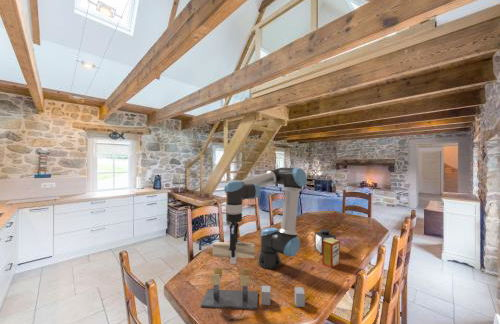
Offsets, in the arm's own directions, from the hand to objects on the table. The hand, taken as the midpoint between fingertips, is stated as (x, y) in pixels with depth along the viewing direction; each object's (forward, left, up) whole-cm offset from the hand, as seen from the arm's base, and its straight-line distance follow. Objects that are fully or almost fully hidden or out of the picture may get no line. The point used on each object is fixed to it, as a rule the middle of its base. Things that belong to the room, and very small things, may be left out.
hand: (233, 260), depth 101 cm
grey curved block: (-55, -9, -19) cm, 59 cm away
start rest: (0, +24, -19) cm, 30 cm away
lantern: (-62, +62, -19) cm, 90 cm away
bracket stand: (0, -1, -19) cm, 19 cm away
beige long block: (0, 0, +3) cm, 3 cm away
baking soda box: (-41, +60, -19) cm, 75 cm away
